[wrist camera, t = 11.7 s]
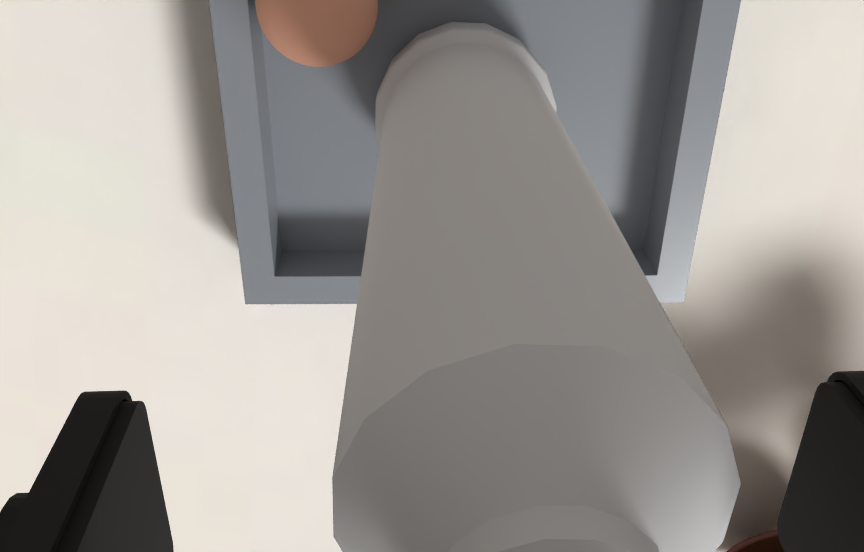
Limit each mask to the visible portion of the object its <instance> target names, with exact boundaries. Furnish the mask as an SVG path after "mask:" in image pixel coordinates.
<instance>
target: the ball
mask: <svg viewBox="0 0 864 552" xmlns="http://www.w3.org/2000/svg"><path fill="white" fill-rule="evenodd" d="M255 7H256V13H257V17H258V21H259V24H260V26H261V29H262V31H263V33H264V34H265V36H266V38H267V39H268V40H269V42H270V43H271V44H272V45H273V46H274V48H275V49H276V50H277V51H279V52H280V53H281V54H282V55H284V56H285V57H287V58H288V59H290V60H292V61H294V62H297V63H299V64H302V65H306V66H312V67H327V66H332V65H336V64H339V63H341V62H343V61H345V60H347V59H349V58H351V57H352V56H354V55H355V54H356V53H357V52H358V51H360V50H361V49H362V47H363V46H364V45H365V44H366V42H367V41H368V39H369V38H370V36H371V34H372V31H373V29H374V27H375V23H376V20H377V14H378V0H255Z"/></svg>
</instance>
